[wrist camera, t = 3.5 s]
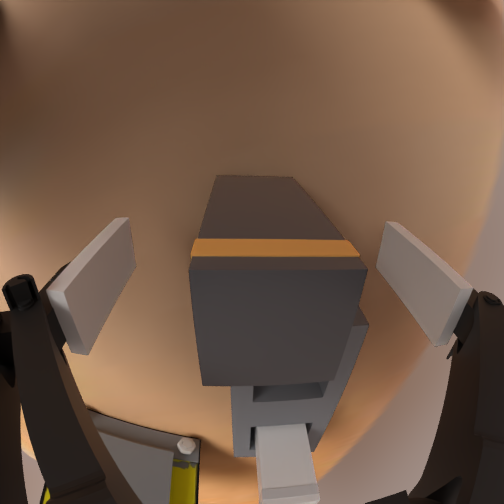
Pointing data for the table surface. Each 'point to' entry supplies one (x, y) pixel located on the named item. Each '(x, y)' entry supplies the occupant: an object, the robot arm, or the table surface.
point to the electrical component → (150, 461)
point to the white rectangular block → (285, 465)
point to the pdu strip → (293, 400)
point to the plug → (271, 285)
